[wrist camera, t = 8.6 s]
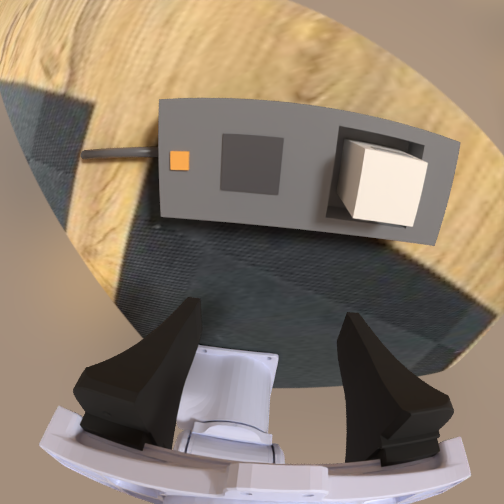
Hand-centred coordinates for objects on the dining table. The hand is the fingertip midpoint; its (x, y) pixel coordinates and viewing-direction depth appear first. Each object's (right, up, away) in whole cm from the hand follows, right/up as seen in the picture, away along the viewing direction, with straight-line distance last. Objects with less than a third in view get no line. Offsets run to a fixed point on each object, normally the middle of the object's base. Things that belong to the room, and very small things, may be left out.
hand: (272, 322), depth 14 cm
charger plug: (+7, +9, +5) cm, 13 cm away
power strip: (-1, +10, +6) cm, 12 cm away
